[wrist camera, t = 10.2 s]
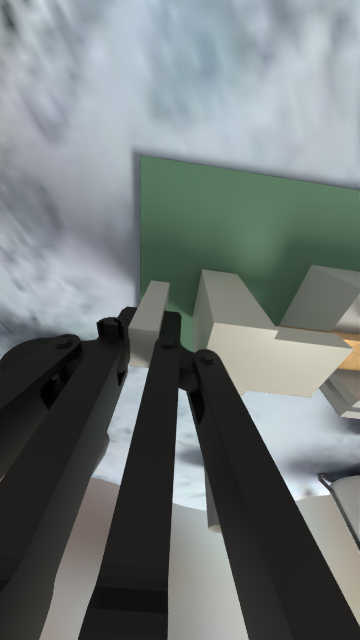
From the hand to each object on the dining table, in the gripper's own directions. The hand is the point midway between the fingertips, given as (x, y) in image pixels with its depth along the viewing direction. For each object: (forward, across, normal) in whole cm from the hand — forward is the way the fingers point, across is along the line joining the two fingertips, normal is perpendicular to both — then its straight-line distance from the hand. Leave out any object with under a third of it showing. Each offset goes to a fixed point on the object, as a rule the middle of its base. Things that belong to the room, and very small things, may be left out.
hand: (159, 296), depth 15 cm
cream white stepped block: (+1, +7, 0) cm, 7 cm away
